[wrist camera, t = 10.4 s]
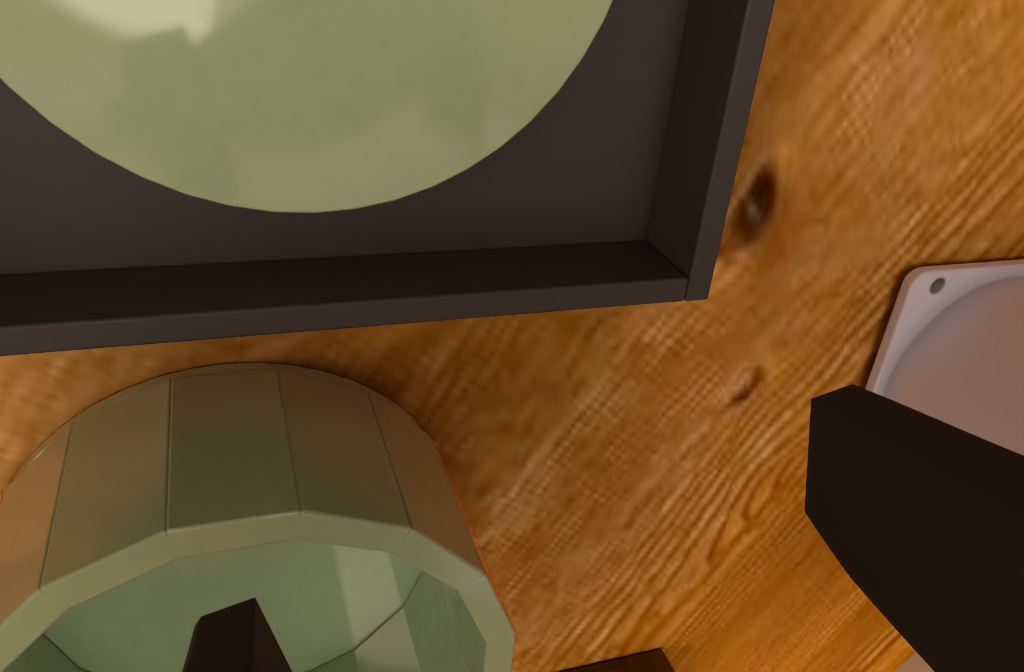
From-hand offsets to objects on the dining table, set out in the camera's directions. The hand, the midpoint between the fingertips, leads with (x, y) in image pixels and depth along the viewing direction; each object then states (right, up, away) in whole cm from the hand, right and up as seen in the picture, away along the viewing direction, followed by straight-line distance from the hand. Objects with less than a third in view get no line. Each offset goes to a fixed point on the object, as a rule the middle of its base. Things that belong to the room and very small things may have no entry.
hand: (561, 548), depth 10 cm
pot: (-8, -3, +11) cm, 14 cm away
